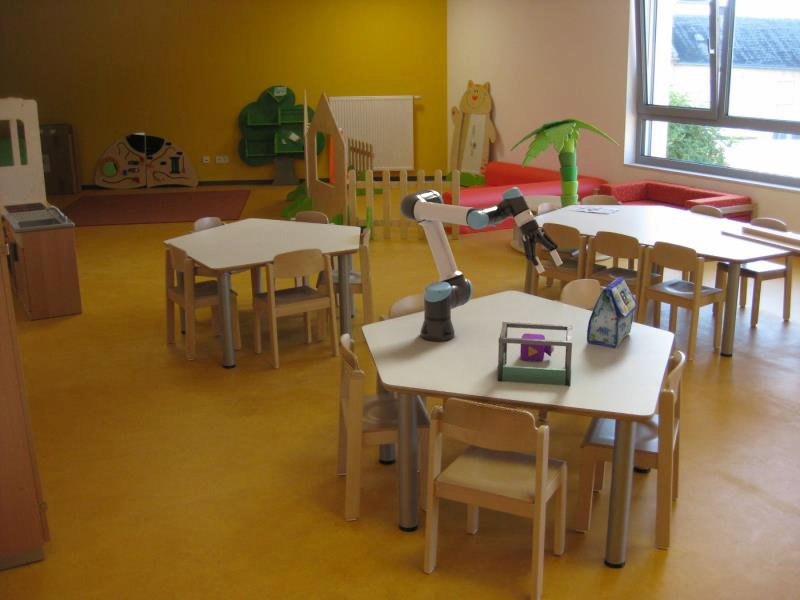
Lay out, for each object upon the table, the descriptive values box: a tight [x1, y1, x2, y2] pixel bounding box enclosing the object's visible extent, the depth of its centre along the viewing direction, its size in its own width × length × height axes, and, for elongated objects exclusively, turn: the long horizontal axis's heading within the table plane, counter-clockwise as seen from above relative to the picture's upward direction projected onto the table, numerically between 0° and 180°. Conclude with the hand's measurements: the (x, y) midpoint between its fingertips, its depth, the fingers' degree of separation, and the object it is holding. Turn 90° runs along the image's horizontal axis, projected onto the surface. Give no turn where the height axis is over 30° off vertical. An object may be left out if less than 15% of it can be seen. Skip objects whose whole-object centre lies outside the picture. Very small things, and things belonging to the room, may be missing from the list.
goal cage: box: [496, 321, 573, 387], centre depth 332 cm, size 28×21×17 cm
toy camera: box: [519, 332, 555, 362], centre depth 349 cm, size 11×14×10 cm
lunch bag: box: [586, 276, 638, 349], centre depth 368 cm, size 22×17×26 cm
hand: (551, 268), depth 349 cm, fingers open, 13 cm apart
